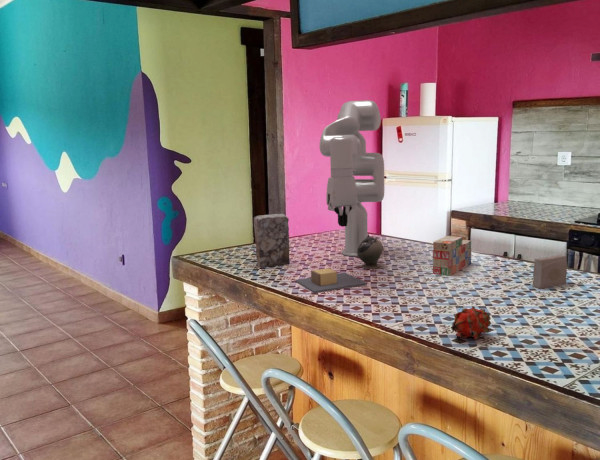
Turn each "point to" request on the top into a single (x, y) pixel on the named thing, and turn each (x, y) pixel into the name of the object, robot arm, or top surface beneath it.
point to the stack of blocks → (450, 255)
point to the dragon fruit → (471, 323)
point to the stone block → (271, 239)
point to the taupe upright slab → (549, 272)
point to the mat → (342, 282)
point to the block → (323, 276)
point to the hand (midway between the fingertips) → (342, 225)
